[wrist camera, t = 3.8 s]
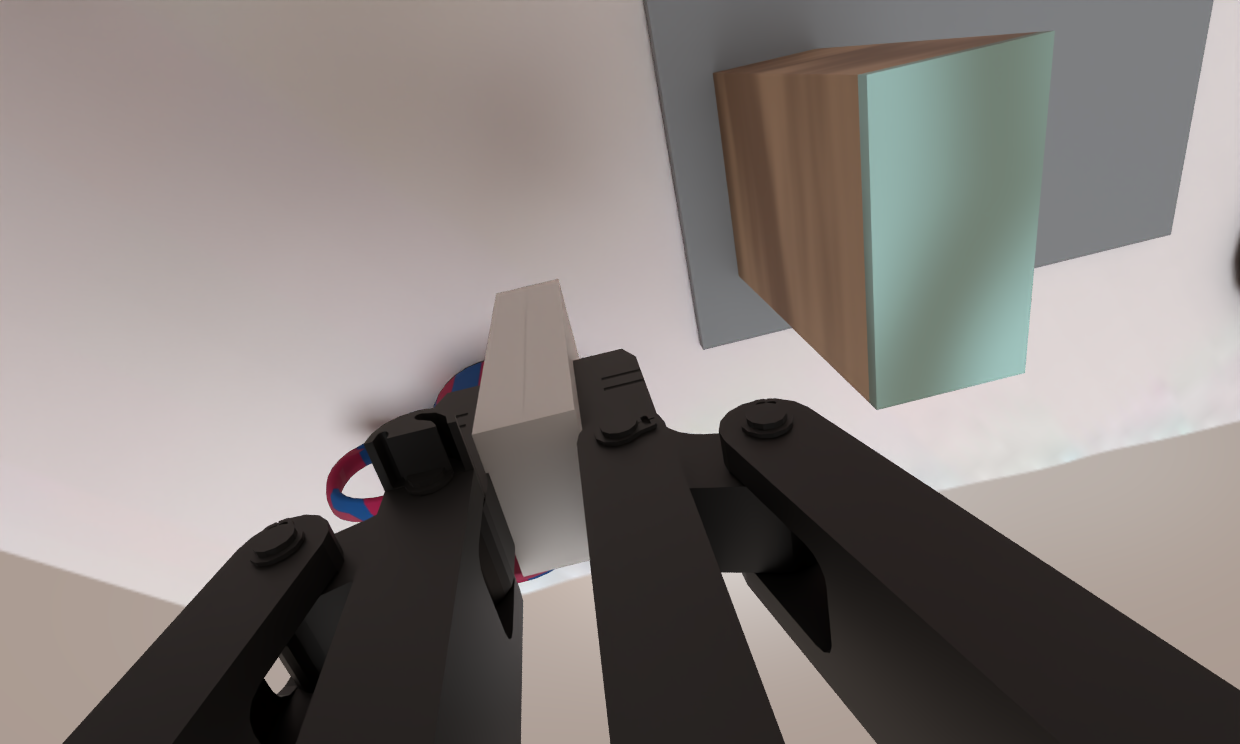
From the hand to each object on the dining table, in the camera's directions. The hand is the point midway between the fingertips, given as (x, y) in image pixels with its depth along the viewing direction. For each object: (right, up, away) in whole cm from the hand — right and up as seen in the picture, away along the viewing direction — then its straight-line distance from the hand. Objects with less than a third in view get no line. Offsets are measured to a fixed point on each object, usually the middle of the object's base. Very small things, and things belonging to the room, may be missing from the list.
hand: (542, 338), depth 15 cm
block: (+8, +7, +10) cm, 15 cm away
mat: (+15, +9, +11) cm, 21 cm away
